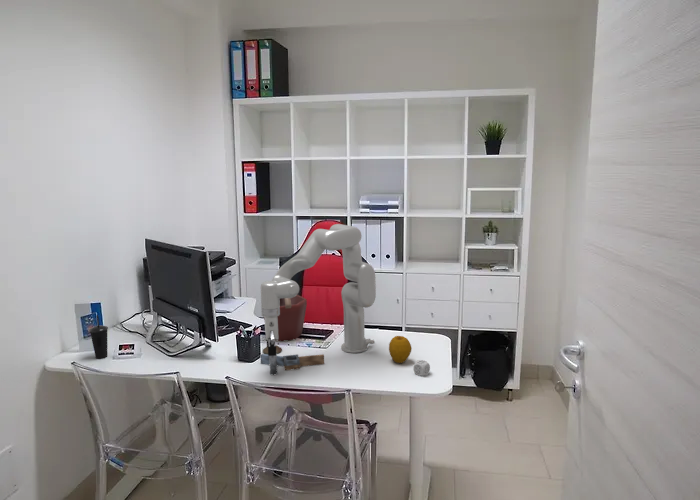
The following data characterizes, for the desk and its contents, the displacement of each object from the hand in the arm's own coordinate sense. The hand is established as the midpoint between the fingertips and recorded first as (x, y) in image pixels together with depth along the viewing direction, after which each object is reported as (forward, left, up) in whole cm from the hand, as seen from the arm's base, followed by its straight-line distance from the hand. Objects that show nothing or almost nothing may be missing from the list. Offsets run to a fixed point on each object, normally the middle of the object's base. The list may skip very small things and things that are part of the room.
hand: (271, 351), depth 210 cm
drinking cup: (+75, -37, -10) cm, 85 cm away
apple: (-56, +1, -10) cm, 56 cm away
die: (-61, +15, -10) cm, 63 cm away
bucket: (-10, -45, -10) cm, 47 cm away
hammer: (-9, -7, -10) cm, 16 cm away
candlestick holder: (-2, -25, -10) cm, 27 cm away
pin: (-1, 0, -10) cm, 10 cm away
